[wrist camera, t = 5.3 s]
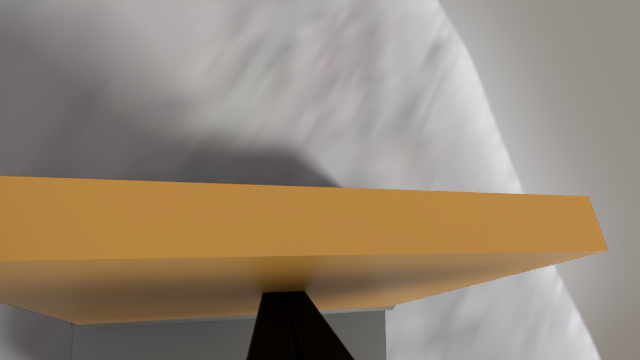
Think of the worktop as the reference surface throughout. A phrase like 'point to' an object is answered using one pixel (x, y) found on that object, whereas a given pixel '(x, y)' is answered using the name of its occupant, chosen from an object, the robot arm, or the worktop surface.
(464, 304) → the worktop surface
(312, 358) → the robot arm
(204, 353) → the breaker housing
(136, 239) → the orange square tile
